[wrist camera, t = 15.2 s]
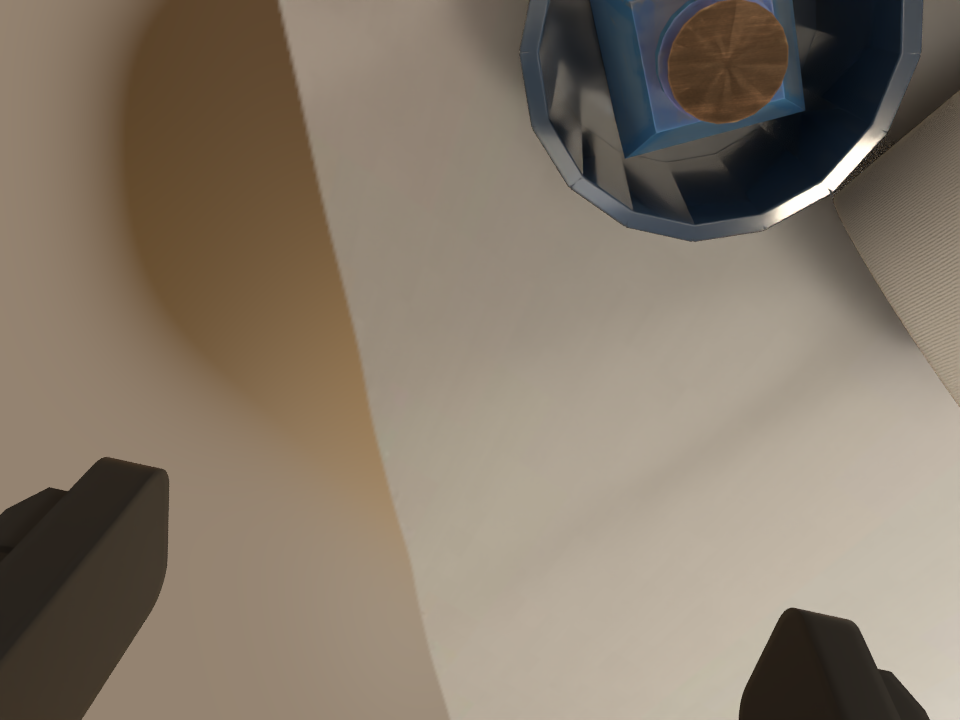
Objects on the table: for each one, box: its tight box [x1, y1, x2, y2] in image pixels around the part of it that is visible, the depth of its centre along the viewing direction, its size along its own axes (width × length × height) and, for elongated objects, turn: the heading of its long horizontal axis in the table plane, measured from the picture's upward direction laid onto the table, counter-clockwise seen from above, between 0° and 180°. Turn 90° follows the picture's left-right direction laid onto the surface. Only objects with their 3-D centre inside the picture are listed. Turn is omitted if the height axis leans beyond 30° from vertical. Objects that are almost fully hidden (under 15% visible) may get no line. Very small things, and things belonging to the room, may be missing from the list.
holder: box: [519, 0, 923, 242], centre depth 28 cm, size 12×12×10 cm
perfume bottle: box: [590, 0, 805, 159], centre depth 27 cm, size 6×6×12 cm
